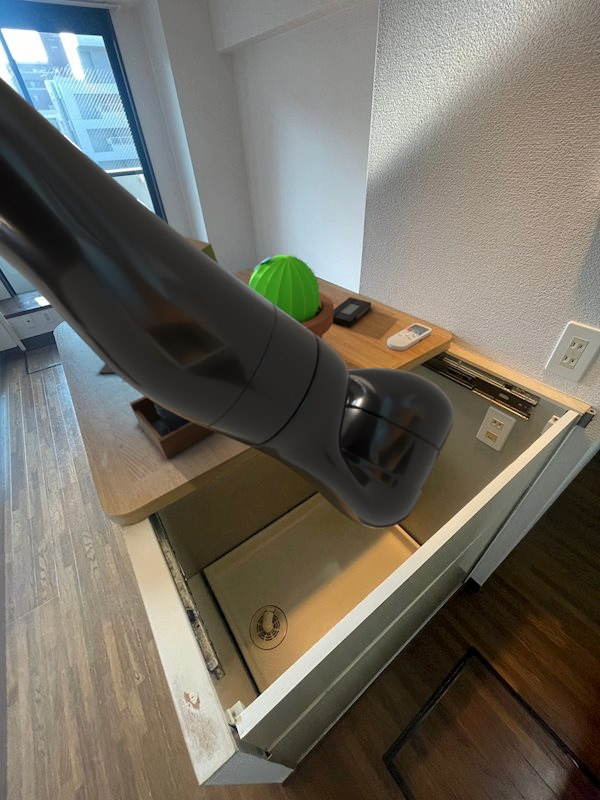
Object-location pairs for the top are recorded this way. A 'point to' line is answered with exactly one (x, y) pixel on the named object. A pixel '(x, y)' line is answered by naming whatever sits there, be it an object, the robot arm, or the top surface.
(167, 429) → the vaping device
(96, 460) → the top surface
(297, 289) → the potted cactus
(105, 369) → the coaster
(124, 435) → the top surface
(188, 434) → the wooden tray
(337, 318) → the vhs tape
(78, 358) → the top surface
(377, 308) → the top surface
